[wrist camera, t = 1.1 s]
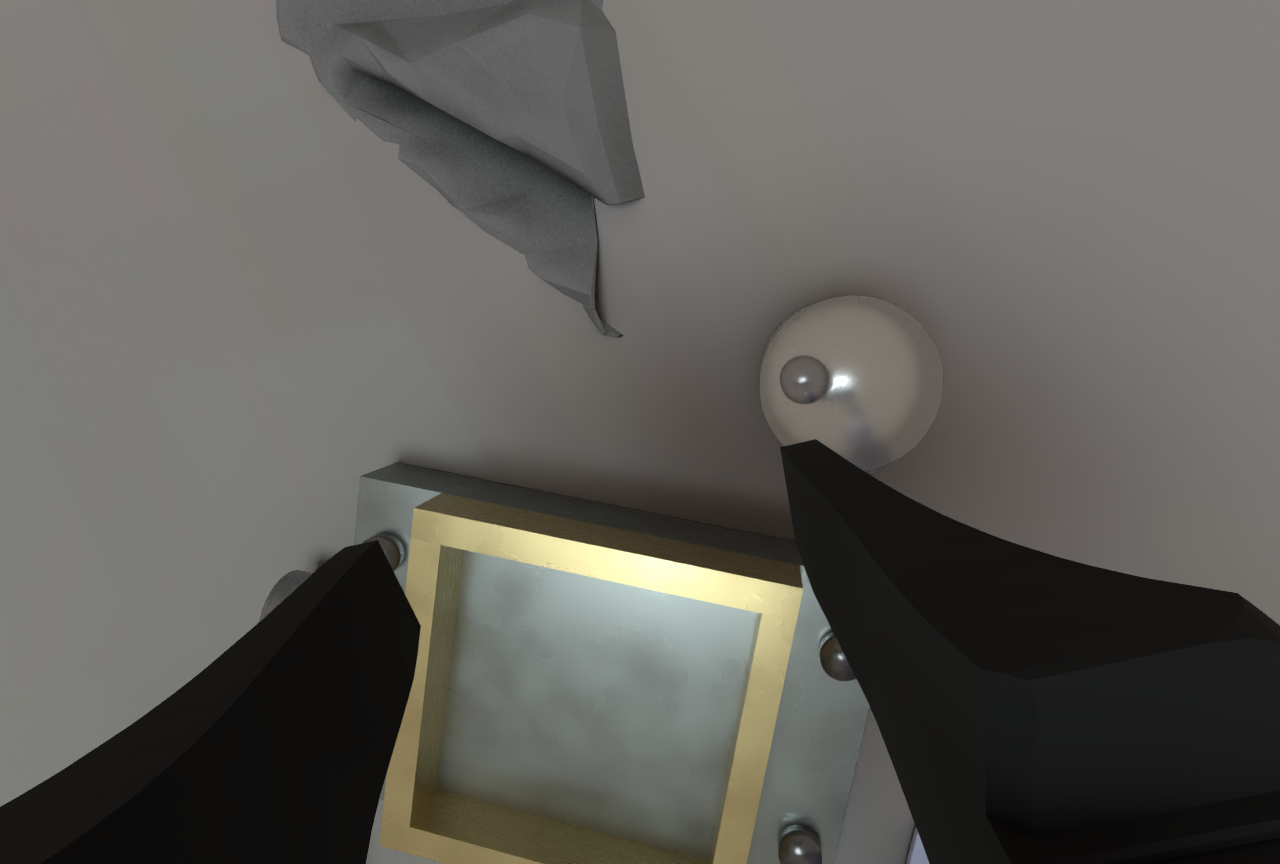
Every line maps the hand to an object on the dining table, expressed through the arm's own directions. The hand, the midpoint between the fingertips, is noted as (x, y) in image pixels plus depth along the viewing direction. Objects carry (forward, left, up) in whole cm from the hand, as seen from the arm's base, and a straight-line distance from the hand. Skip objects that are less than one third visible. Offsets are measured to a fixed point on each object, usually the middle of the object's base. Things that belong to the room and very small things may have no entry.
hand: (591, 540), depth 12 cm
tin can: (-5, -3, -13) cm, 14 cm away
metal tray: (+3, +9, -13) cm, 16 cm away
